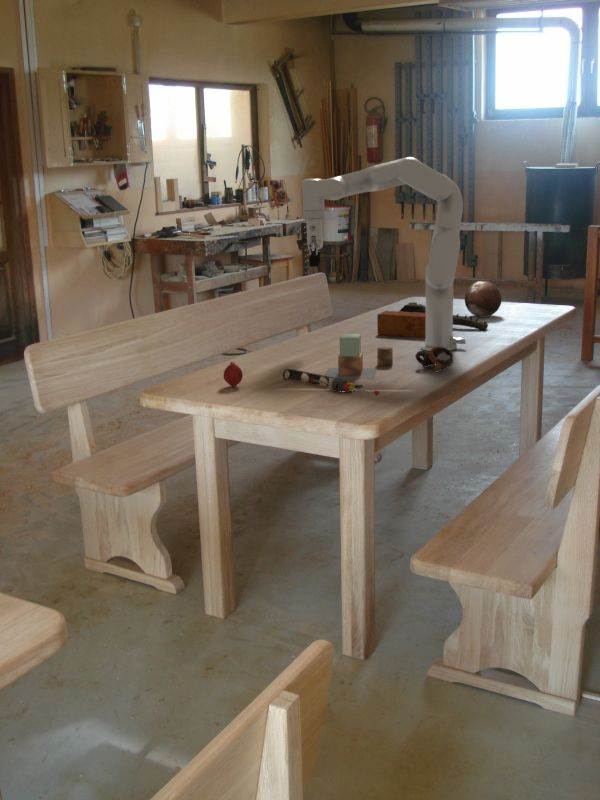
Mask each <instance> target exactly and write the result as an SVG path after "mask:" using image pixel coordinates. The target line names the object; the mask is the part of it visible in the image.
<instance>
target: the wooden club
mask: <svg viewBox="0 0 600 800" xmlns="http://www.w3.org/2000/svg"><path fill="white" fill-rule="evenodd" d="M399 311H403V312H418V313H425V305H424V304H417V302H416V301H415V302H413V301H412V302H408V304H405V305H403V307H401V309H400V310H399ZM455 325H456V326H462V327H469V328H470V329H471V328H474V329H477V330H480V331H485V330H487V329H488V327H489V324H488V323H487V322H486V321H482V320H479V317H477V318H473V315H470V316H468V315H460V314H459V313H457V314H456V315H455V314H453V326H455Z"/></svg>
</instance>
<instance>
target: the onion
mask: <svg viewBox="0 0 600 800" xmlns="http://www.w3.org/2000/svg"><path fill="white" fill-rule="evenodd" d="M243 376H244V374H243V371H242V369H241V368H240V367H239V366H238V364H236V363H235V362H234V361H231V362H229V364H228V365H227V367H225V369H224V370H223V379H224V381H225V382H226V384H228V385H230V386H231V387H232V388H235V387H237V386H238V385H239V384H240V383H241V382H242V379H243Z"/></svg>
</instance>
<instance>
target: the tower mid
mask: <svg viewBox="0 0 600 800" xmlns="http://www.w3.org/2000/svg"><path fill="white" fill-rule="evenodd" d="M361 338H362V336H361V334H360V333H341V335H340V337H339V354H340V357H359V356H360V353H361V352H362V348H361V347H362V343H361Z"/></svg>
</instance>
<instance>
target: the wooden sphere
mask: <svg viewBox="0 0 600 800" xmlns="http://www.w3.org/2000/svg"><path fill="white" fill-rule="evenodd" d="M502 301H503V298H502V292H501V289H500V288H499V287H498V286H497V285H496V284H495V283H493V282H491V281H489V280H479V281H478V280H477V281H475V282H474V283H472V284H471V285H470V286H469V287H467V290H466V291H465V294H464V303H465V304H464V305H465V307H466V309H467V311H469V313H471V314H472V316H475V317H477V318H489V317H490V316H492V315H494V314H495V313H496V312H498V310H499V309H500V307H501V304H502Z"/></svg>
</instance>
